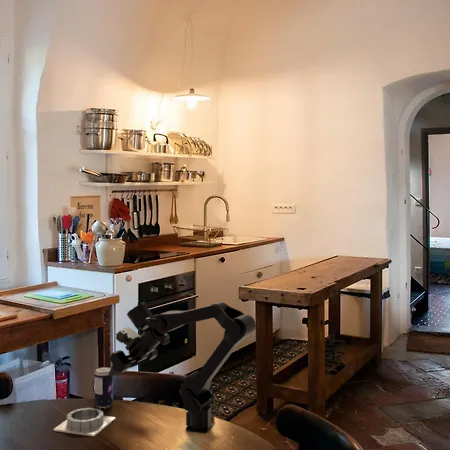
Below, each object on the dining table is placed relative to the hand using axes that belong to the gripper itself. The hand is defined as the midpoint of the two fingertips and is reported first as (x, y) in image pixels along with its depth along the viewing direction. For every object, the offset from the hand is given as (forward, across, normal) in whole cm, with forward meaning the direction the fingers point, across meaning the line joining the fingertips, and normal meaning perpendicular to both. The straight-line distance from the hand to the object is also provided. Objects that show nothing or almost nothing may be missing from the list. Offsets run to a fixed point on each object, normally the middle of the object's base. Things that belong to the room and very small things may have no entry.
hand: (119, 371), depth 184 cm
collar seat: (+10, +14, +8) cm, 19 cm away
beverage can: (+13, 0, +5) cm, 14 cm away
